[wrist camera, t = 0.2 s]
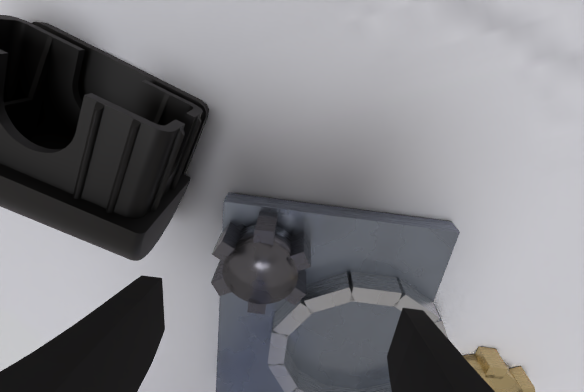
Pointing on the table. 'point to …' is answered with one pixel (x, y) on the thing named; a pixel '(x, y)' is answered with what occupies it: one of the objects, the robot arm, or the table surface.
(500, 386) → the planet gear
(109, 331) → the robot arm
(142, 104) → the end cap
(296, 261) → the carrier plate
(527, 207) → the table surface
